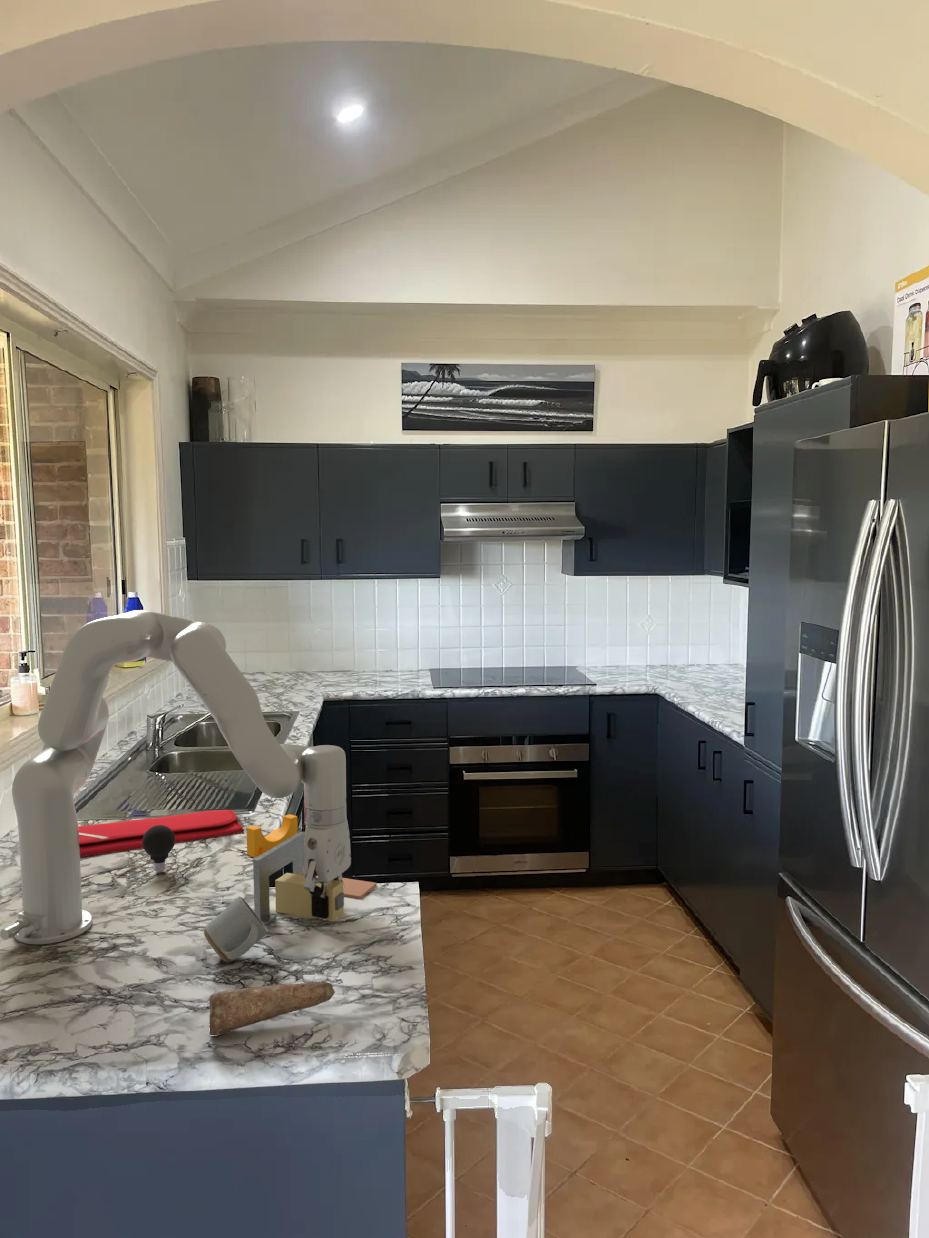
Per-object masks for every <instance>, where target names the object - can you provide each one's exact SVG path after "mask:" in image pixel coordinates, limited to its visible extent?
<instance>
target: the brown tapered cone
mask: <svg viewBox="0 0 929 1238" xmlns="http://www.w3.org/2000/svg"><path fill="white" fill-rule="evenodd" d="M334 995H335V989H334V987H333V984H332V983H329V982H327V981H316V982H314V981H313V982H304V983H302V982H301V983H289V984H288V983H285V984H284V983H282V984H281V983H280V984H274V985H265V986H264V985H263V986H262V985H261V986H255V987H254V986H252V987H246V988H239V989H237V988H236V989H235V988H234V989H228V990H223V991H218V992H215V993H212V994H211V995H209V1024H210V1025H209V1028H210V1032H209V1036H210V1035H218V1034H221V1035H223V1034H222V1033H224V1034H225V1032H226V1033H229V1032H231V1030H232V1031H235V1030H237V1029H241V1028H244V1027H247V1026H251V1025H255V1024H257V1023H260V1022H263V1021H265V1022H266V1021H268V1020H271V1019H273V1018H276V1017H278V1016H281V1015H288V1014H291V1013H292V1012H296V1011H300V1010H302V1011H303V1010H305V1009H308V1008H313V1007H316V1006H318V1005H321V1004H323V1003H325V1002H328V1001H330V1000H331V999H332V997H333V996H334ZM228 1031H229V1032H228ZM218 1036H219V1035H218Z"/></svg>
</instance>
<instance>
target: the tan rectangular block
mask: <svg viewBox="0 0 929 1238" xmlns="http://www.w3.org/2000/svg"><path fill="white" fill-rule="evenodd" d="M316 878H318V877H316ZM305 880H306V879H305V877H304V875H298V874H293V872H285V873H284V874H282V876H280V877H278V878H277V879H275V881H274V883H275V884H274V887H275V892H274V893H275V912H276V913H280V914H281V913H282V914H287V915H294V916H298V917H299V916H300V917H304V918H305V917H306V918H310V917H313V916H312V901H311V896H310V892H309V891H307V890H306V889H304V883H305ZM316 886H319V887H320V888H321V883H316ZM326 896H328V904H329V916H328V918H326V919H327V920H331V921H330V922H334V921H336V920H337V919H338V918H339V917H340V916H342V915H343V914H344V912H345V909H344V906H345V896H344V893H343V881H338V880H332V881H331V882H329V883H327V892H326ZM337 917H338V918H337ZM316 918H319V917H314V918H313V919H316ZM336 918H337V919H336ZM321 919H325V918H321ZM321 919H320V920H321ZM335 919H336V920H335ZM327 920H326V921H327ZM333 920H334V921H333Z"/></svg>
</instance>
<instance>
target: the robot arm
mask: <svg viewBox="0 0 929 1238" xmlns="http://www.w3.org/2000/svg"><path fill="white" fill-rule="evenodd" d="M226 643H227V642H226V639H225V636H224V635H223V633H222V632H221V630H220V629H218V628H217V627H216V626H215V625H212V624H210V623H207V622H203V621H196V620H192V619H189V618H188V619H187V618H183V617H180V616H179V617H178V616H173V615H171V614H170V615H168V614H164V613H161V612H156V611H152V610H146V609H145V610H144V609H140V610H139V609H138V610H131V611H128V612H127V611H126V612H124V613H121V614H117V615H113V616H107V617H103V618H98V619H95V620H92V621H90V622H87V623H85V624H84V625H82V626H81V627H79V628H78V629H77V630H76V631H75V632H74V633H73V634H72V635H71V636H70V638H69V639H68V641H67V642H66V645H65V647H64V648H63V652H62V654H61V657H60V660H59V664H58V666H57V669H56V672H55V674H54V676H53V678H52V681H51V685H50V688H49V690H48V692H47V697H46V700H45V702H44V705H43V707H42V710H41V711H40V716H39V718H38V721H37V722H38V724H37V731H38V736H39V738H40V740H41V742H42V743H43V747H42V750H41V751H39V752H38V753H37V754H35V755H34V756H32V757H31V758H30V759H28V760H27V761H25V762H24V763H23V764H22V765H21V767H20V768H19V769H18V770H17V772H16V773H15V775H14V778H13V781H12V786H11V794H12V795H11V796H12V800H13V801H12V803H13V806H14V810H15V815H16V821H17V831H18V832H17V833H18V843H19V845H18V846H19V847H18V848H19V858H20V859H19V860H20V861H19V862H20V878H21V879H20V880H21V900H22V911H20V912H18V913H17V918H18V919H16V920H15V922H14V923H13V924H9V925H8V926H6V927H4V928H1V929H0V938H1V939H3V940H4V941H6V940H9V939H10V938H13V937H14V938H15V940H16V941H18V942H20V943H22V944H28V945H48V944H55V943H60V942H64V941H67V940H70V939H73V938H75V937H79V936H80V935H82V934H84V933H85V932H86V931H89V929H90V928H91V927H92V925H93V916H92V914H91V913H90V912H89V911H87V910H84V909H83V897H82V877H81V876H82V875H81V874H82V873H81V857H80V849H79V829H78V826H79V820H78V815H77V811H76V808H75V807H76V806H75V801H74V796H75V793H77V792H78V790H80V789H81V788H82V787H83V786H84V785H85V784H86V782H87V780H88V779H89V777H90V775H91V773H92V771H93V768H94V764H95V763H96V759H97V756H98V753H99V750H100V747H101V744H102V741H103V738H104V736H105V733H106V729H107V727H108V722H109V715H110V714H109V712H110V711H109V706H108V704H107V701H106V700H105V697H104V694H105V691H106V689H107V686H108V682H109V679H110V673H111V671H112V669H113V668H114V667H115V666H116V665H119V664H126V663H132V662H136V661H139V660H142V659H144V658H145V657H146V658H152V659H157V660H161V661H165V662H171V663H172V664H173V665H174V667H175V669H176V670H177V671H178V673H179V674H180V675H181V676H182V678H183V679H184V680H185V681H186V683H187V684H188V686H189V687H190V688H191V690H192V691H193V692H194V693H195V695H196V696H197V698H198V699H199V700H200V701H201V703H202V704H203V706H204V707H205V708H206V710H207V711H208V712H209V713H210V715H211V717H212V718H213V719H214V721H215V722H216V725H217V727H218V729H219V731H220V734H221V735H222V736H223V738H224V739H225V741H226V743H227V745H228V747H229V749H230V751H231V752H232V754H233V756H234V758H235V759H236V760H237V762H238V764H239V765H240V766H241V768H242V769H243V770H244V772H245V773H246V774H247V776H249V778H250V780H251V781H252V782H253V784H255V786H256V787H257V788H258V789H259V790H260V792H262V793H263V794H265V795H266V796H268V797H269V798H273V799H284V798H287V797H289V796H291V795H293V793H295V791H296V790H297V789H298V788H299V786H300V784H303V798H304V799H303V802H304V803H303V804H304V809H303V811H304V825H305V830H304V832H305V837H304V852H303V871H304V877H305V879H306V880H305V883H304V889H306V890H307V891H309V892H310V896H311V901H312V916H313V917H319V918H325V919H326V918H328V916H329V904H328V896H326V892H327V883H329V882H331V881H332V880H338V881H343V880H342V878H343V874H344V872H345V871H347V870H348V869H349V868H350V867H351V864H352V861H351V860H352V857H351V856H352V855H351V853H352V852H351V838H350V836H351V835H350V829H349V824H348V823H349V822H348V819H347V818H348V817H347V759H346V752H345V750H344V749H343V748H342V747H340V746H338V745H330V744H323V745H322V744H321V745H316V746H307V745H299V744H294V743H293V744H292V743H279V741H278V740H277V739H276V737H275V735H274V734H273V732H272V731H271V729H270V727H269V725H268V724H267V721H266V720H265V718H264V715H263V711H262V708H261V707H262V706H261V702H260V699H259V696H258V694H257V692H256V690H255V688H254V687H253V685H251V683H250V682H249V680H248V679H247V677H245V675H244V674H243V673H242V671H241V670H240V668H239V667H238V666H237V664H236V663H235V661H234V660H233V659H232V658H231V656H230V655H229V653H228V651H226V650H227V648H226V647H227V644H226ZM316 876H318V878H316ZM316 883H321V888H320V887H319V886H316Z"/></svg>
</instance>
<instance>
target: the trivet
mask: <svg viewBox="0 0 929 1238" xmlns="http://www.w3.org/2000/svg"><path fill="white" fill-rule="evenodd" d="M316 877H318V876H316ZM342 880H343V886H348V887H343V893H344V898H345V897H347V898H351V899H356V900H361V899H363V897H364V896H366V895H367V894H368V893H369V892H370V891H372V890H373V889H374V888H376V886H375V885H377V882H373V881H366V880H362V879H361V880H359V879H353V878H349V877H348V878H346V877H342Z"/></svg>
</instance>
